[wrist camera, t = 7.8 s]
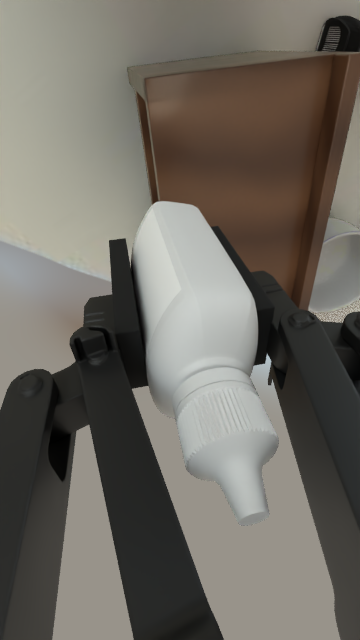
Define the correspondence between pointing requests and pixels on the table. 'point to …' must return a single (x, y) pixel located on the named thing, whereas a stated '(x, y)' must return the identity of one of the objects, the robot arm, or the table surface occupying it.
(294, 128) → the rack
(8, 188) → the table surface
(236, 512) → the eye dropper bottle
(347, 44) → the electric trimmer
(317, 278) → the teacup
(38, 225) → the table surface
